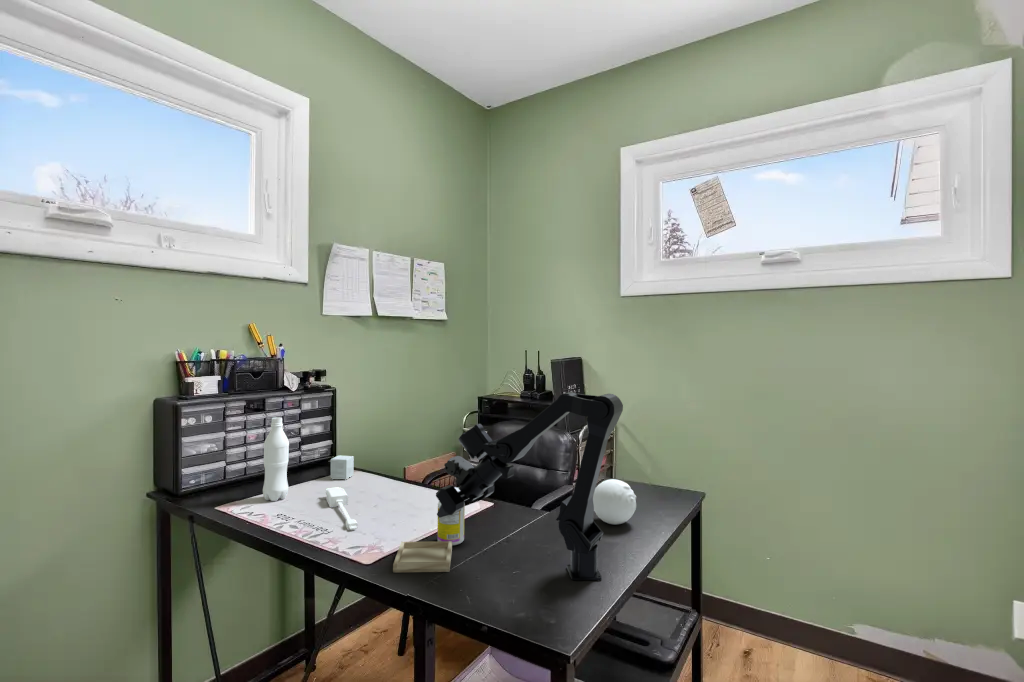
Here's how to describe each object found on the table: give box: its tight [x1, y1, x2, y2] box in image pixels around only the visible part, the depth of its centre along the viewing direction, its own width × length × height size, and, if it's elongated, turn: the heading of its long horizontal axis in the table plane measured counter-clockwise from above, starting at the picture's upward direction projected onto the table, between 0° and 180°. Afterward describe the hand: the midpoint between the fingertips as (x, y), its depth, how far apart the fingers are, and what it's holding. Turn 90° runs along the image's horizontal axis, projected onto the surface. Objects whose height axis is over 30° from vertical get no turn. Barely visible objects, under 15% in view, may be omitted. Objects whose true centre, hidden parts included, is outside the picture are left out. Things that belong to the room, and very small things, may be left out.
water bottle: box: [262, 416, 290, 502], centre depth 155 cm, size 7×7×25 cm
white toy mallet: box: [325, 486, 359, 531], centre depth 145 cm, size 5×32×3 cm, turn 29°
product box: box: [330, 454, 355, 480], centre depth 180 cm, size 6×6×7 cm
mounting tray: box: [392, 540, 453, 573], centre depth 114 cm, size 12×12×2 cm
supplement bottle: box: [436, 486, 466, 546], centre depth 125 cm, size 7×7×13 cm
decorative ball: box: [593, 478, 637, 525], centre depth 140 cm, size 12×12×12 cm
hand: (446, 511), depth 126 cm, fingers closed on supplement bottle, 7 cm apart
